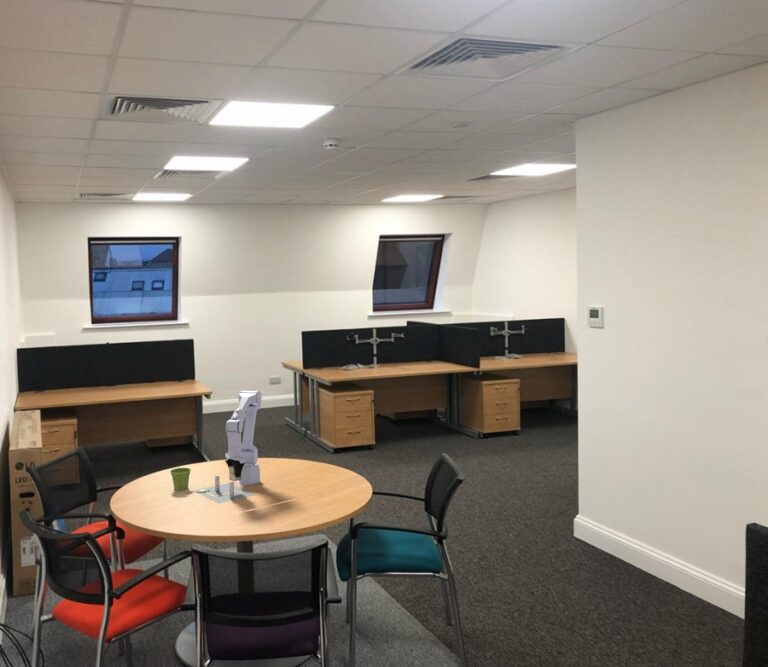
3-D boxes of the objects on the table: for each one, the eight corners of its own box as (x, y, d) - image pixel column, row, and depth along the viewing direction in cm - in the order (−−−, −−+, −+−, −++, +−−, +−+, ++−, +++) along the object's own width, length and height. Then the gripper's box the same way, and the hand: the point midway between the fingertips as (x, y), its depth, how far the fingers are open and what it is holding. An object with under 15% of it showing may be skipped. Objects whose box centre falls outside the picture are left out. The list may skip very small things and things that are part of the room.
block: (237, 477, 330) (236, 464, 330) (241, 479, 327) (241, 466, 327) (229, 479, 328) (229, 466, 327) (233, 481, 325) (233, 468, 324)
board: (228, 484, 342) (228, 468, 342) (255, 496, 324) (255, 479, 323) (193, 491, 331) (192, 475, 330) (218, 504, 312) (218, 487, 311)
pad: (205, 488, 334) (205, 487, 334) (211, 491, 330) (211, 490, 330) (193, 490, 330) (193, 489, 330) (199, 493, 326) (199, 492, 326)
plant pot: (175, 493, 329) (175, 474, 329) (167, 488, 337) (166, 470, 336) (195, 489, 335) (194, 470, 335) (186, 484, 343) (185, 466, 342)
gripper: (218, 444, 329) (219, 474, 330) (234, 450, 318) (235, 481, 319) (232, 442, 334) (233, 471, 335) (248, 448, 323) (249, 478, 324)
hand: (235, 476), depth 327 cm, fingers closed on block, 4 cm apart
